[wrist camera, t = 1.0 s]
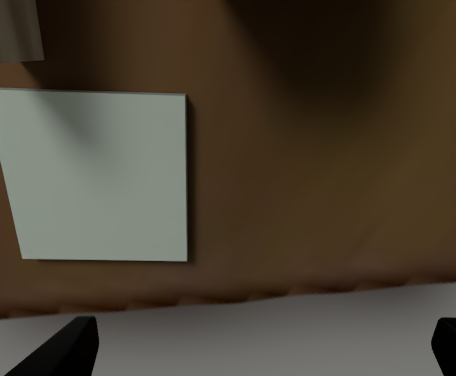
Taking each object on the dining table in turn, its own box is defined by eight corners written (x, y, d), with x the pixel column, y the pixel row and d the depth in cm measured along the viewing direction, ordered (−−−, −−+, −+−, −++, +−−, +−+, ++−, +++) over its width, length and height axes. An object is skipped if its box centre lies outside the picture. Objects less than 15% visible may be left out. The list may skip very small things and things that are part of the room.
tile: (186, 93, 17) (185, 96, 16) (188, 253, 20) (186, 261, 19) (-5, 87, 16) (-16, 89, 15) (29, 250, 20) (22, 258, 19)
